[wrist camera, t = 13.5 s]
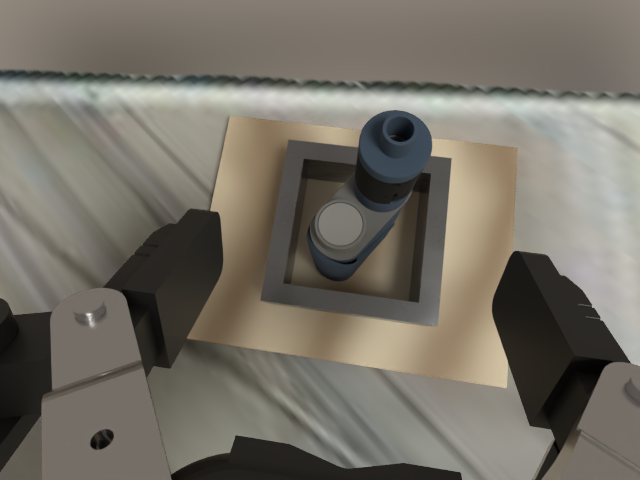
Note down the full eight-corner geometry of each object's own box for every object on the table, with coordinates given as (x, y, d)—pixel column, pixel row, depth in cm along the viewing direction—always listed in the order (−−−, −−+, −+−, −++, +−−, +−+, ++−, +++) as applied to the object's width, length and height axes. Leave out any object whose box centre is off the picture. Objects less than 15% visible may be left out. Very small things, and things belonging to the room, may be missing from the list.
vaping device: (398, 226, 23) (462, 126, 12) (338, 291, 23) (341, 256, 11) (365, 198, 24) (395, 74, 12) (305, 261, 23) (275, 196, 11)
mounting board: (189, 337, 23) (183, 338, 23) (233, 123, 26) (229, 115, 25) (499, 385, 22) (506, 388, 21) (510, 154, 25) (517, 147, 24)
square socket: (270, 303, 23) (260, 300, 20) (294, 161, 25) (288, 139, 22) (424, 326, 22) (437, 326, 19) (437, 178, 24) (451, 158, 21)
